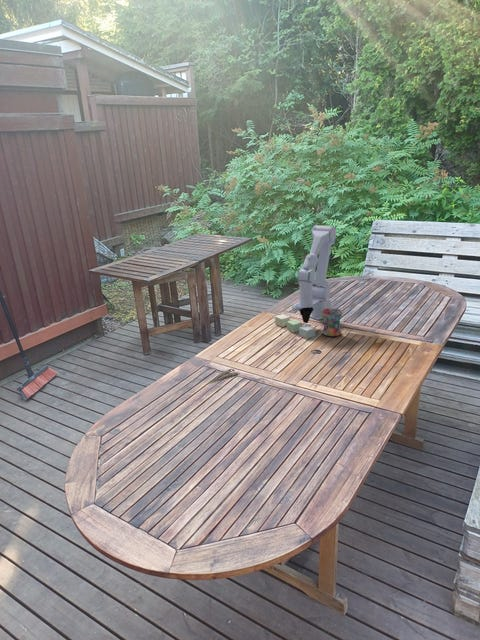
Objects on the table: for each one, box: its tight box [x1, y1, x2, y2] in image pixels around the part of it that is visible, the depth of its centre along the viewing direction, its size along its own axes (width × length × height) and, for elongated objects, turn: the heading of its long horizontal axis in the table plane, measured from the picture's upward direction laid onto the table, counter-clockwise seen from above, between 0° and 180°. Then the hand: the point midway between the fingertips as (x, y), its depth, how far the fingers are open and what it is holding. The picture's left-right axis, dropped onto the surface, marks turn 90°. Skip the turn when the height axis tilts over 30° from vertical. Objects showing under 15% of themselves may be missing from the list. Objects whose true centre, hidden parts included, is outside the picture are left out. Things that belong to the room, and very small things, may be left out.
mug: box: [321, 307, 344, 337], centre depth 202 cm, size 12×9×11 cm
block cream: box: [274, 313, 291, 328], centre depth 216 cm, size 5×5×4 cm
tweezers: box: [205, 368, 239, 385], centre depth 169 cm, size 17×5×2 cm, turn 130°
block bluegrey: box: [298, 324, 316, 340], centre depth 202 cm, size 5×5×4 cm
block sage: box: [286, 318, 303, 333], centre depth 209 cm, size 5×5×4 cm
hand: (305, 322), depth 212 cm, fingers closed
